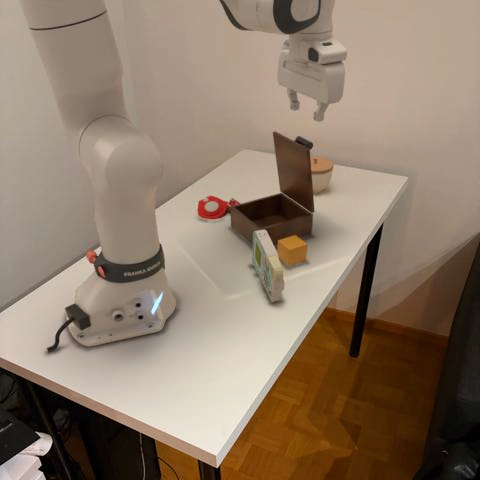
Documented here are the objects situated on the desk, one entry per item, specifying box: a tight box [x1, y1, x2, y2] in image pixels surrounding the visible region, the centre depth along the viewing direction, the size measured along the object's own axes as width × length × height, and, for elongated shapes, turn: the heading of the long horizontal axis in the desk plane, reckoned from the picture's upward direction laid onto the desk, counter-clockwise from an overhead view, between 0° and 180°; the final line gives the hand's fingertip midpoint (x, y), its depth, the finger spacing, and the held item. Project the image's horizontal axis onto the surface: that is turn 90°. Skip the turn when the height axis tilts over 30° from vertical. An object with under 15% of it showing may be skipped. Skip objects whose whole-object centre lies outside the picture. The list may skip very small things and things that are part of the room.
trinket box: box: [310, 156, 334, 194], centre depth 142 cm, size 11×11×9 cm
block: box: [276, 235, 308, 266], centre depth 113 cm, size 5×5×5 cm
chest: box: [229, 192, 314, 247], centre depth 123 cm, size 16×15×6 cm
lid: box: [272, 130, 315, 214], centre depth 119 cm, size 16×15×5 cm
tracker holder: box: [197, 195, 242, 220], centre depth 134 cm, size 12×4×10 cm
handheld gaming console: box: [251, 230, 285, 303], centre depth 105 cm, size 11×3×15 cm
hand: (306, 114), depth 109 cm, fingers open, 8 cm apart
